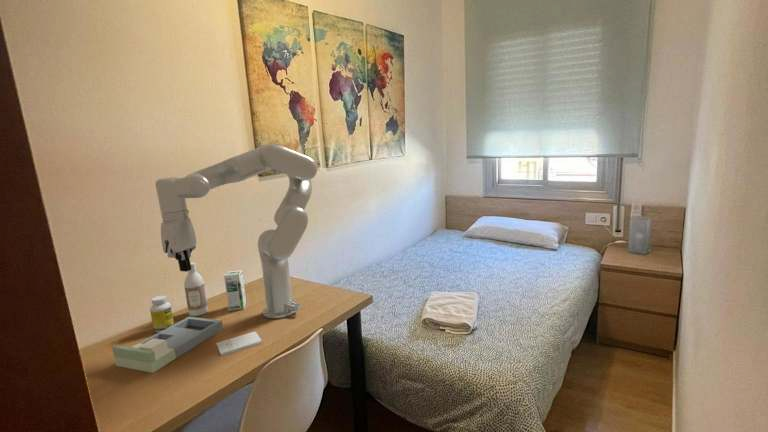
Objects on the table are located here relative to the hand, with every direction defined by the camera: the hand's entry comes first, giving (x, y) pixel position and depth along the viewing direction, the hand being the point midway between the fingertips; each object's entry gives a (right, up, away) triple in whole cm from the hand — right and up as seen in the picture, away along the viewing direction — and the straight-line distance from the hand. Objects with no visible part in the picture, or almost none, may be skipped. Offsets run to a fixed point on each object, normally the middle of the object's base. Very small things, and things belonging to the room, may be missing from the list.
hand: (185, 270), depth 131 cm
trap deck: (-3, -24, -2) cm, 24 cm away
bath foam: (-6, -20, +23) cm, 31 cm away
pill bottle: (-13, -22, +11) cm, 28 cm away
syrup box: (+8, -18, +26) cm, 33 cm away
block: (-3, -23, -13) cm, 27 cm away
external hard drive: (+19, -24, -4) cm, 31 cm away
